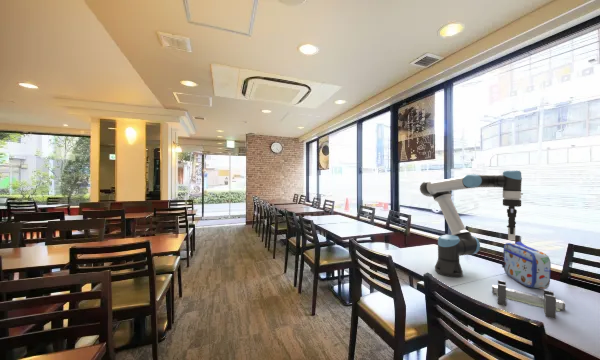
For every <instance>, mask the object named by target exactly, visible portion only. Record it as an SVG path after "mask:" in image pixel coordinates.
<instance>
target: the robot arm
mask: <svg viewBox="0 0 600 360" xmlns="http://www.w3.org/2000/svg"><path fill="white" fill-rule="evenodd" d="M522 180H523V178H522V171H520V170H504V171H502V174H501V173H500V174H493V173H492V174H491V173H489V174H487V173H486V174H484V173H483V174H479V173H478V174H477V173H475V174H474V173H471V174H470V173H469V174H466V175H464V176H458V177H453V178H447V179H441V180H427V181H423V182H422V183H421V184H420V185H419V190H420V191H419V192H420V193H421V194H422V195H423V196H426V197H429V198H431V197H432V198H433V200H434V202H436V203H438V205H439V208H440V210H441V212H442V215H443V216H444V218H445V220H446V221H445V222H446V223H447V226H448V228H449V230H450V232H451V234H443V235H439V237H438V239H437V260H436V263H435V266H434V271H435V272H436V273H438V274H440V275H443V276H446V277H449V278H450V277H452V278H461V277H463V275H464V274H463V273H464V272H463V269H462V265H461V263H460V256H471V255H475V254H477V253H478V252H479V251H480V249H481V244H480V240H479V239H478V238H477V237H475V236H474V235H472V233H471V232H470V231H469V230H467V229H466V227H465V225H464V223H463V221H462V219H461V217H460V215H459V212H458V211H457V209H456V207H455V205H454V202H453V200H452V196H453V195H452V193H453V191H458V190H466V189H467V190H468V189H475V188H477V189H478V188H501V189H502V198H503V199H502V206H504V207H507V208H506V213H507V214H506V215H507V218H508V219H507V222H508V224H507V225H506V228H507V236H508V237H507V240H509V241H513V242H514V241H515V242H516V224H517V222H516V218H517V213H518V211H517V209H516V208H518V207H521V206H522V200H521V199H522V195H524V193H522Z"/></svg>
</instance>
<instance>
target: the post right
mask: <svg viewBox="0 0 600 360" xmlns="http://www.w3.org/2000/svg"><path fill="white" fill-rule="evenodd" d="M543 296H544V308H543V312H544V315H545V317H547V318H550V319H554V320H556V319H557V318H556V316H557V314H556V313H557V311H556V299H557V297H556V295H555V294H554V291H552V290H547V289H543Z"/></svg>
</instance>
